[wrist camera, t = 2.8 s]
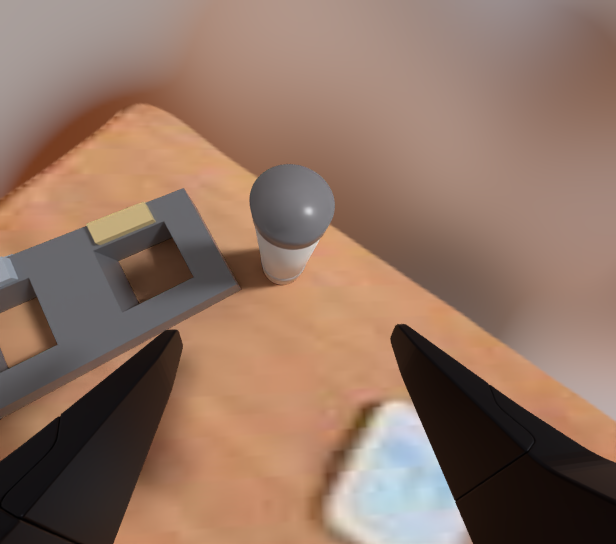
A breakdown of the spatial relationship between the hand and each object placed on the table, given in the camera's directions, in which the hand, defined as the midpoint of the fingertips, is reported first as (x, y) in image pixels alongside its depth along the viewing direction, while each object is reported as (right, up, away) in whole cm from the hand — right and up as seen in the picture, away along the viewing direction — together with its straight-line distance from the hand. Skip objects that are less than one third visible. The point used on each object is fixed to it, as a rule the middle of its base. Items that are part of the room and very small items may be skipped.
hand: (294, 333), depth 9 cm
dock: (-17, 0, +10) cm, 20 cm away
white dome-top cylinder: (-2, +3, +13) cm, 14 cm away
